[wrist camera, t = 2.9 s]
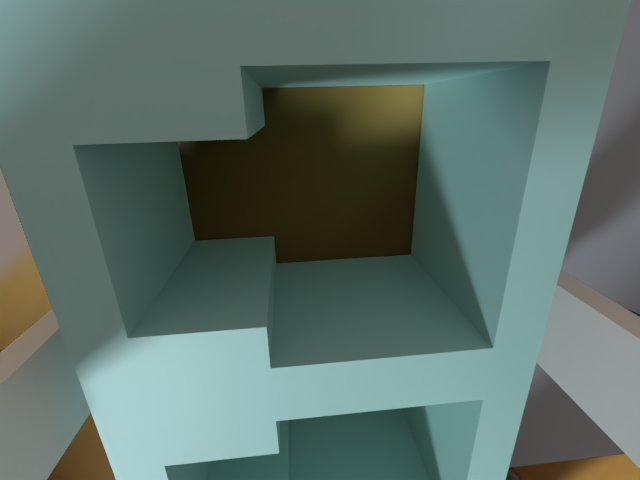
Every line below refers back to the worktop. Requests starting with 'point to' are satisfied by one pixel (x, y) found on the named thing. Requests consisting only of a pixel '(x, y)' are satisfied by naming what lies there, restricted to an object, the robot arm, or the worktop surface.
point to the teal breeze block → (259, 252)
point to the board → (596, 259)
